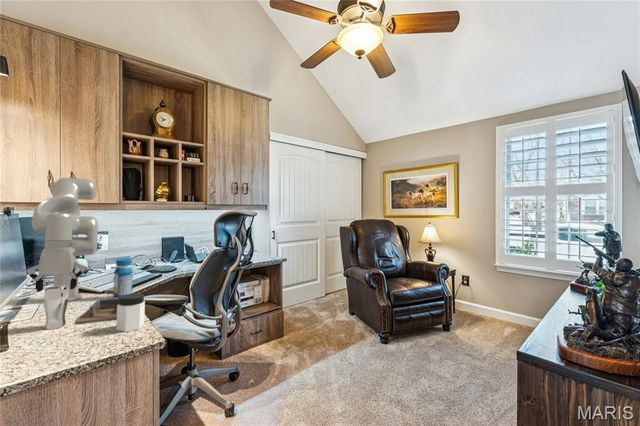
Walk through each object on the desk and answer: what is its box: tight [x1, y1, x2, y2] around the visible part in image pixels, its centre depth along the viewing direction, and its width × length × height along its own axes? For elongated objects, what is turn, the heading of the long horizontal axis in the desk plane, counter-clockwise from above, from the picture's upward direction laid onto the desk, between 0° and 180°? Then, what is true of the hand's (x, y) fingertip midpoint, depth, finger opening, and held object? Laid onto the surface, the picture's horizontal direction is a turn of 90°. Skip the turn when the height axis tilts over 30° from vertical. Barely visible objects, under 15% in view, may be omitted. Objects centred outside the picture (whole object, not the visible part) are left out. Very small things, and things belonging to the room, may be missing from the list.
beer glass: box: [43, 285, 69, 331], centre depth 109 cm, size 7×7×15 cm
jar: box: [115, 293, 146, 333], centre depth 109 cm, size 9×8×12 cm
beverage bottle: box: [112, 258, 134, 299], centre depth 150 cm, size 8×8×20 cm
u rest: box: [74, 298, 119, 325], centre depth 124 cm, size 20×18×5 cm
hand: (56, 289), depth 108 cm, fingers open, 9 cm apart
